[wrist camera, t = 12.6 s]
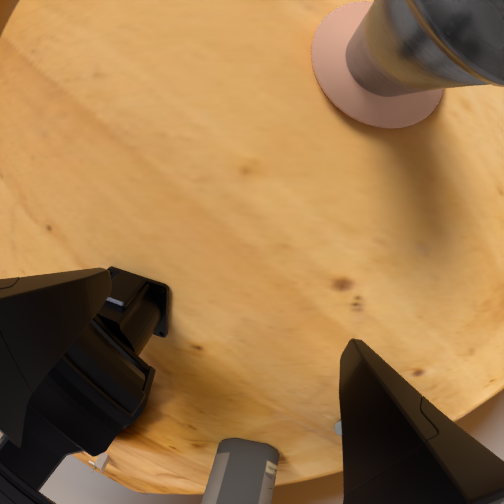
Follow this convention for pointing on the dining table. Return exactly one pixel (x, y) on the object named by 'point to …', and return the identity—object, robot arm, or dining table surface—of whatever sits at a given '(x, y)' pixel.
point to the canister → (428, 46)
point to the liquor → (242, 473)
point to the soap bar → (344, 85)
